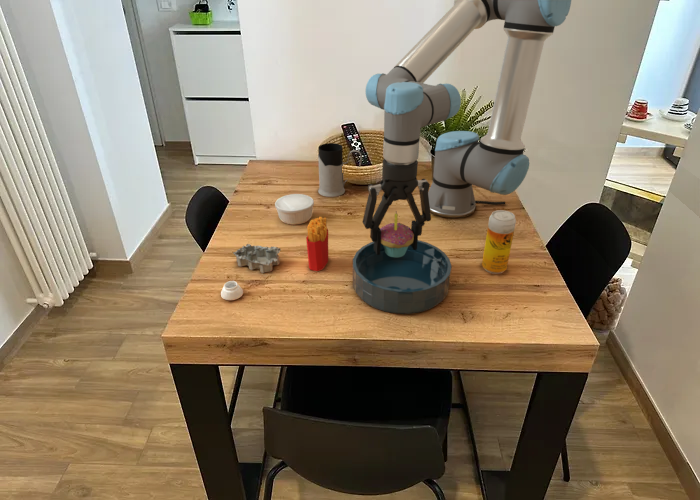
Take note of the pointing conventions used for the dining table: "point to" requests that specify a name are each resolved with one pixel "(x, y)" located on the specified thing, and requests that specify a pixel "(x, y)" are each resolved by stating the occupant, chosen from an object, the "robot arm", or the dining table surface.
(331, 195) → the glass holder
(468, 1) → the robot arm
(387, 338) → the dining table surface
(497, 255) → the beer can
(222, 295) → the lidless jar
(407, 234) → the cupcake
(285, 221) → the ramekin
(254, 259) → the egg carton
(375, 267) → the bowl
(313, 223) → the french fries
